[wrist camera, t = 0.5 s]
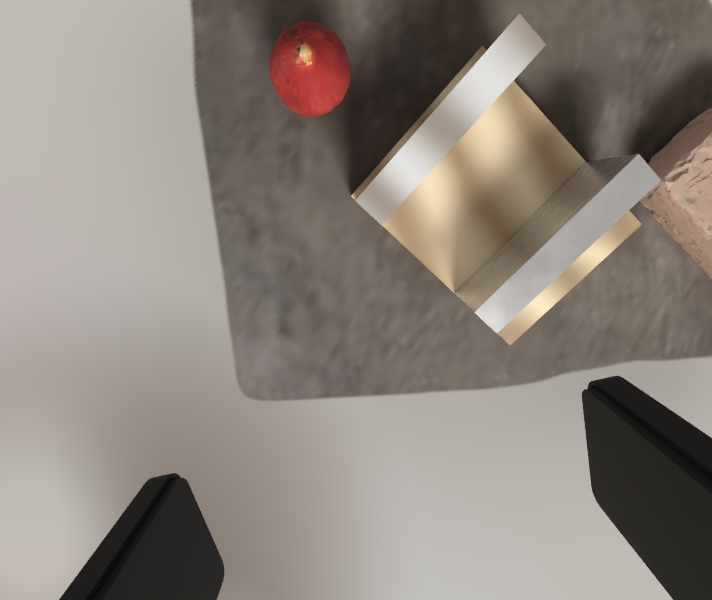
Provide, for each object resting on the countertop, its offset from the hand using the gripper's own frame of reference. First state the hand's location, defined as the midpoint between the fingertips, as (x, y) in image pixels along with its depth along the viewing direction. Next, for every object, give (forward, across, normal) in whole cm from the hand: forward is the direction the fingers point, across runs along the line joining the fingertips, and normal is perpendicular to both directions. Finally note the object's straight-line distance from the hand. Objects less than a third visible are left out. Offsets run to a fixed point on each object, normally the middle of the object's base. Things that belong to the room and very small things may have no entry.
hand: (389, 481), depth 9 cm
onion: (+27, 0, -16) cm, 32 cm away
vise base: (+27, -12, -2) cm, 30 cm away
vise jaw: (+26, -15, +1) cm, 30 cm away
